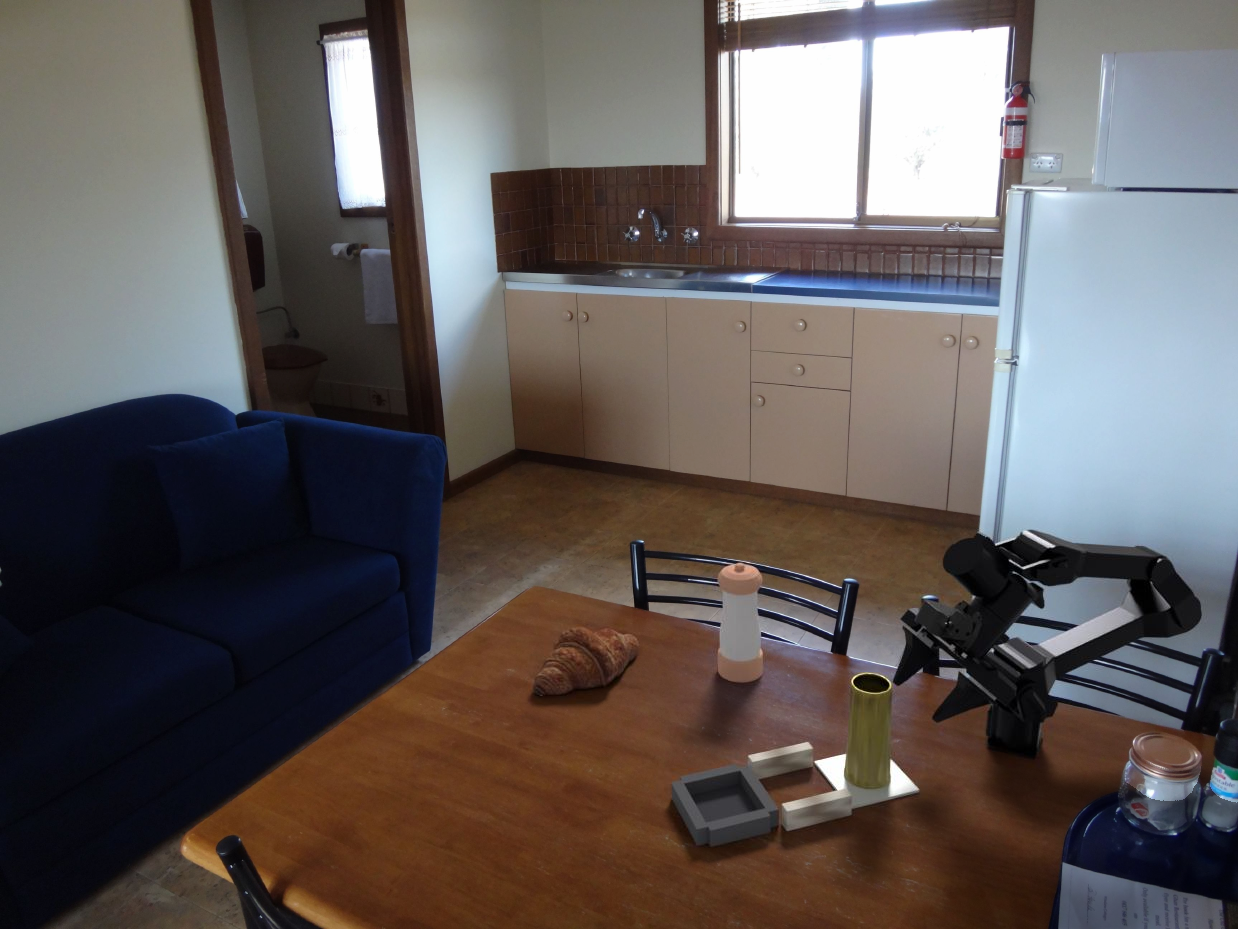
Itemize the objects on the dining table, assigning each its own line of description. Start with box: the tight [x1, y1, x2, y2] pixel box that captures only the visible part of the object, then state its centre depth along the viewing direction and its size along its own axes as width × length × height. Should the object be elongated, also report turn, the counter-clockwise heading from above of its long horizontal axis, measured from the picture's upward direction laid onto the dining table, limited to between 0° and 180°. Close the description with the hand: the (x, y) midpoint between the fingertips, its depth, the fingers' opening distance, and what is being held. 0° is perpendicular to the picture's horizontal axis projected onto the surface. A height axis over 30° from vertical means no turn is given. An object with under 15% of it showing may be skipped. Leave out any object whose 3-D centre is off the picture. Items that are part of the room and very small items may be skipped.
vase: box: [844, 672, 893, 789], centre depth 125 cm, size 6×6×14 cm
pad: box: [813, 753, 920, 810], centre depth 128 cm, size 10×10×1 cm
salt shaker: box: [717, 562, 764, 683], centre depth 152 cm, size 7×7×19 cm
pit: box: [670, 763, 780, 848], centre depth 122 cm, size 11×11×2 cm
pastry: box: [532, 626, 640, 697], centre depth 156 cm, size 17×15×8 cm
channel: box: [747, 741, 853, 832], centre depth 125 cm, size 9×12×3 cm
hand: (913, 702), depth 126 cm, fingers open, 9 cm apart
